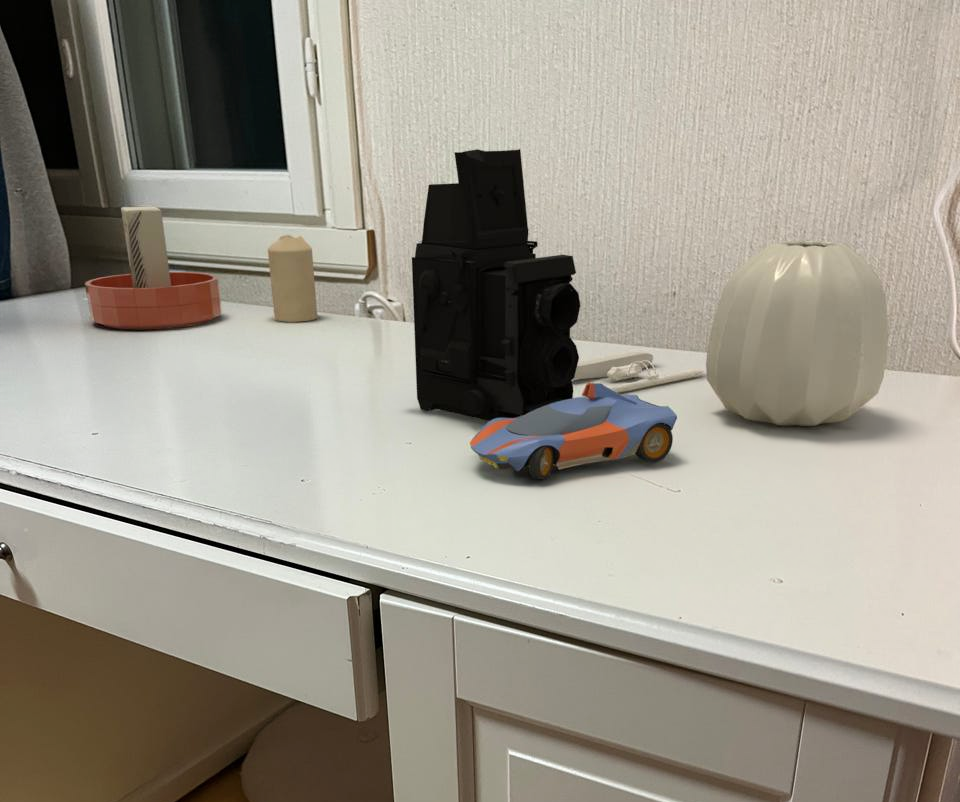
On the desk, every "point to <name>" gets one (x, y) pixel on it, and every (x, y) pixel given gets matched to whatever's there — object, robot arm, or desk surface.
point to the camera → (489, 298)
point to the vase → (799, 335)
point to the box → (146, 247)
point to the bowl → (154, 302)
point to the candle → (292, 279)
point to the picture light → (635, 370)
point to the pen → (610, 364)
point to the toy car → (578, 433)
